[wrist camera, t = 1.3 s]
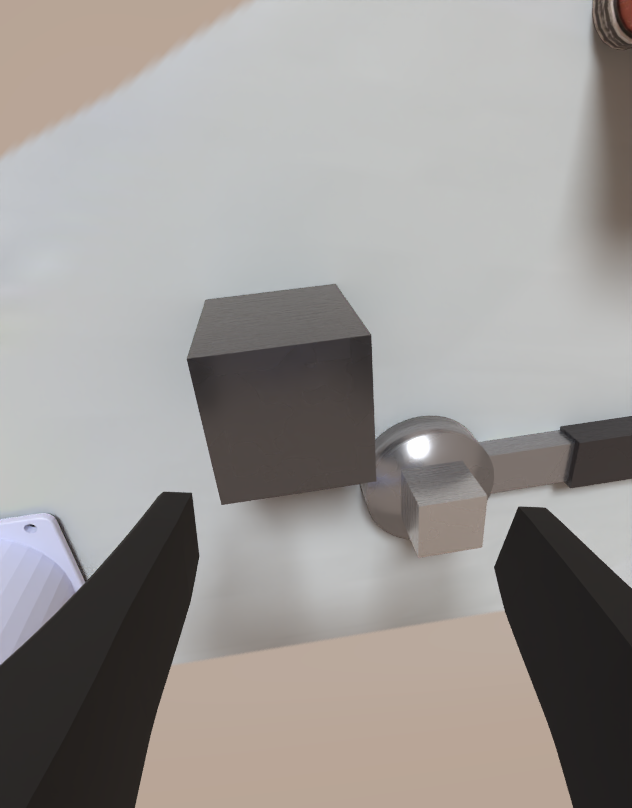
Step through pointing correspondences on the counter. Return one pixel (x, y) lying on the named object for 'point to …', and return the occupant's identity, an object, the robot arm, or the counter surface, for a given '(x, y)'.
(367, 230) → the counter surface
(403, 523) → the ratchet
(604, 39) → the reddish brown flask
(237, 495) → the brushed dark grey cube
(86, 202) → the counter surface
